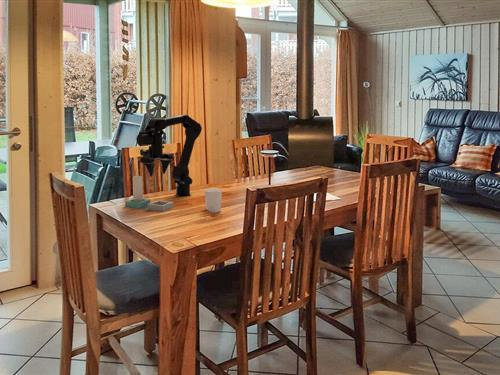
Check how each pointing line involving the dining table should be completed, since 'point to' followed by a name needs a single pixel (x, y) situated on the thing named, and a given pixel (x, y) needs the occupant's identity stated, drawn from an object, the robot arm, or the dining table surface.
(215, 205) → the white cup
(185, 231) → the dining table surface
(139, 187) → the peg
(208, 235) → the dining table surface
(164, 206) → the socket board
